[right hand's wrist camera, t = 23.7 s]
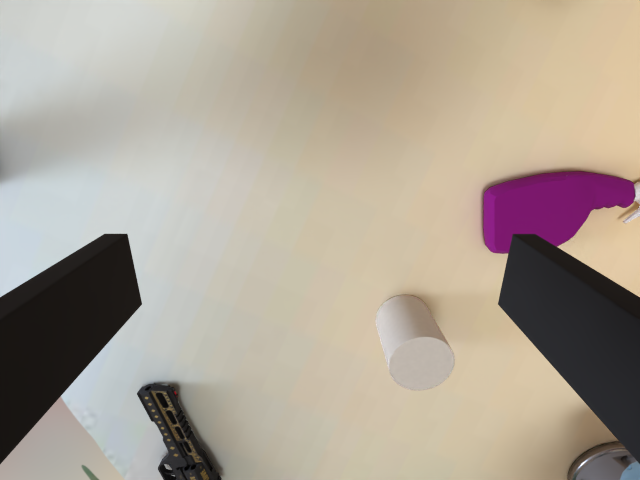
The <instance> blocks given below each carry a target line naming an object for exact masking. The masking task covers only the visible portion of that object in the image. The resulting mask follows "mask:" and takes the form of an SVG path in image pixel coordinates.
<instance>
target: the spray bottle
mask: <svg viewBox="0 0 640 480" xmlns="http://www.w3.org/2000/svg"><path fill="white" fill-rule="evenodd" d="M634 201H636V202H637V203H638V204H640V181H639V182H637V183H635V184H634V183H633V182H631V181H630V180H626V179H623V178H619V177H615V176H609V175H603V174H597V173H590V172H583V171H573V172H555V173H544V174H538V175H534V176H529V177H525V178H520V179H515V180H511V181H507V182H504V183H501V184H498V185H495V186H492V187H490V188H489V189H488V190H487V191H486V192H485V194H484V224H483V230H484V238H485V245H486V246H487V247H488V249H489V250H490V251H491V252H493V253H502V254H504V253H509V249H510V245H511V240H512V235H513V234H536V235H538V236H539V237H541V238H543V239H544V240H546V241H548V242H549V243H551V244H553V245H554V246H556V247H557V246H559V245H561V244H563V243H564V242H566V241H568V240H569V239H571V238H572V237H573V236H574V235H575V234H576V232H577V231H578V230H579V228H580V227H581V226H582V225H583V223H584V222H585V221H586V219H587V217H588V215H589V214H590V212H591V211H592V210H593V209H601V208H603V207H606V208H611V207H614V206H616V205H617V206H620V207H622V208H626V207H628V206H630V205H631V204H632V203H633V202H634ZM639 216H640V206H639V208H638V209H637V210H636V211H635V212H633V213H632V214H631V215H630V216H628V217H627V218H626V219H625V220H624V221H623V222H624V223H628V222H629V221H631V220H632V219H635V218H637V217H639Z"/></svg>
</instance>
